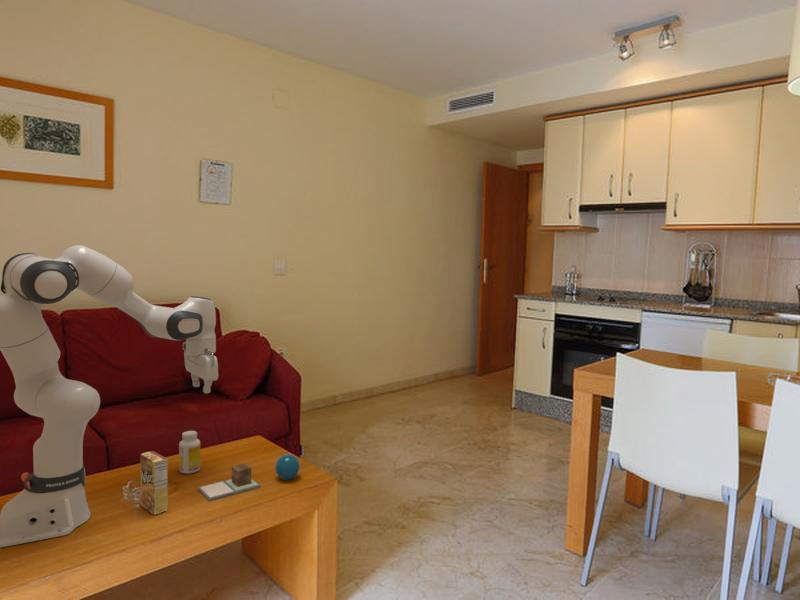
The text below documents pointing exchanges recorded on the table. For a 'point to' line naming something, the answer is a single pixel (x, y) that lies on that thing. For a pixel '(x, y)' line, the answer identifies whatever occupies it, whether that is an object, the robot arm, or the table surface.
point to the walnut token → (241, 475)
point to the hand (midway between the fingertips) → (201, 389)
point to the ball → (287, 466)
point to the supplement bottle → (189, 453)
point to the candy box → (154, 482)
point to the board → (225, 489)
